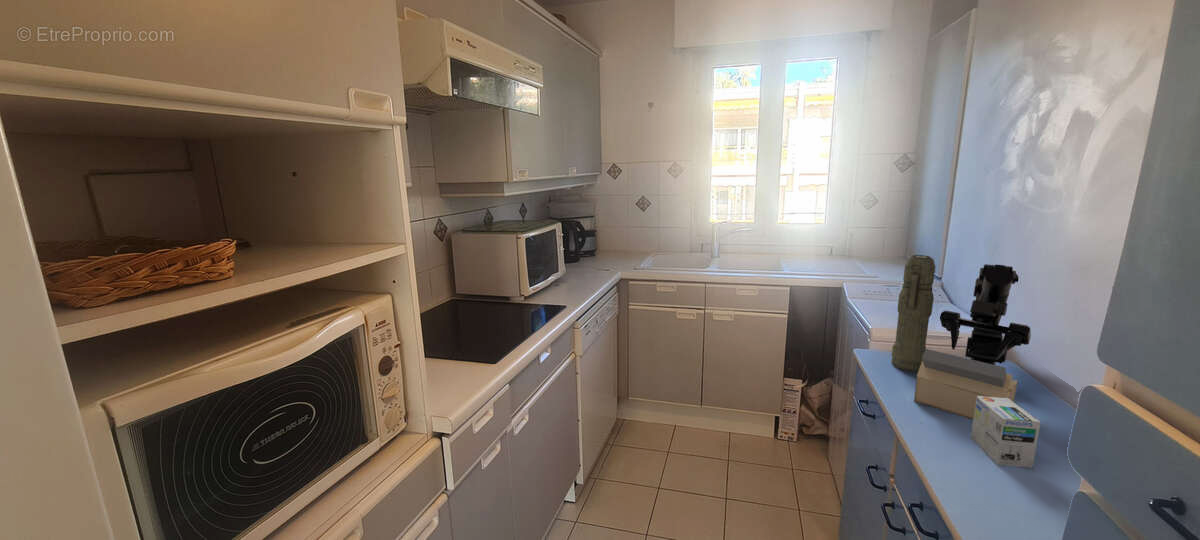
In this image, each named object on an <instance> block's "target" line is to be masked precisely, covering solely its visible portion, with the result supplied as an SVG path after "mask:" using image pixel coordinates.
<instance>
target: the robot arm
mask: <svg viewBox="0 0 1200 540" xmlns="http://www.w3.org/2000/svg"><path fill="white" fill-rule="evenodd" d="M978 274H979V276H978V277H977V278H976V279H975V282H974V290H973V297H975V299H973V300H972V303H971V306H970V307H971V308H970V311H969V312H970V314H969V315H970V318H971V319H967V318H964V317H963V318H962V317H961V312H956V311H950V310H944V311H943V310H942V312H941V313H940V316H939V320H940V324H941V325H940V326H941V327H942V328H944V329H945V330H946V332H947V331H948V332H950V338H951V339H950V340H951V349H952V350H954V351H955V349H956V346H957V343H958V339H959V336H960V330H959V329H960V328H961V326H963V327H966V328H973V329H972V331H971V335H970V337H969V336H968V337H967V340H966V341H967V342H966V347H965V354H964V356H965V357H964V358H969V359H971V360H976V361H980V362H984V363H988V364H992V365H996V363H998V364H1000V365H1001V364H1002V363H1005V362H1006V357H1007V355H1008V354H1007V353H1008V351H1010V350H1011V349H1012V348H1014V347H1017V346H1018V347H1021V346H1022V345H1024V346H1025V345H1029V344H1030V341H1031V338H1032V337H1031V336H1032V333H1031V327H1030V326H1029V325H1027V324H1021V323H1017V322H1016V323H1015V322H1010V323H1009V325H1008V326H1003V325H1000V322H1001V320H1002V316H1006V313H1007V309H1008V303H1007V302H1008V299H1009V296H1010V290H1011V287H1012V285H1015V284H1016V283H1018V282H1019V275H1018V274H1017V272H1016V270H1014V267H1013V266H1011V265H1010V266H1009V265H1005V264H1004V265H1003V264H988V263H987V264H983V266H982V267H980V269H979V273H978ZM1003 335H1004V336H1003Z"/></svg>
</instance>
